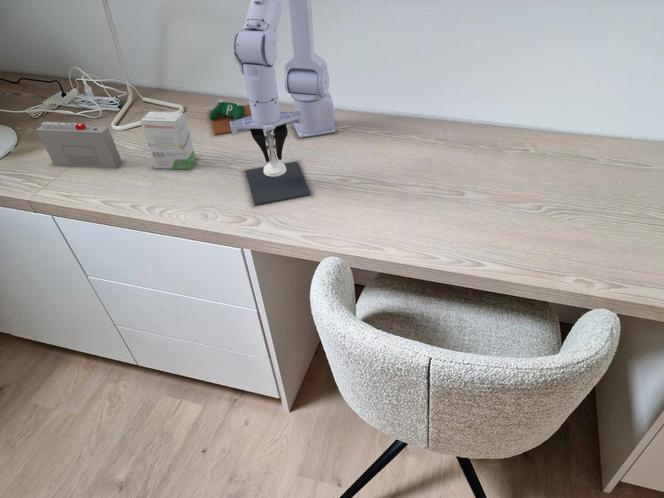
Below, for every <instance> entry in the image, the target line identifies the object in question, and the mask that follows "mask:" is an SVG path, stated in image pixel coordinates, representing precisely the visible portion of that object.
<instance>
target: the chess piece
mask: <svg viewBox="0 0 664 498" xmlns="http://www.w3.org/2000/svg"><path fill="white" fill-rule="evenodd" d="M272 132H273V130H266V131H265V139H266V147H267V151H269V161H270V162H267V164H265V165H264V166H263V167H264V174H265V175H267V176H271V177H275V176H280V175H282V174H284V173H285V172H286V166H285V165H284V164H285V163H283V162H280V161H279V160H278V157H277V154H276V148H277V147H276V145H275V144H274V143H275V136H274V134H272Z"/></svg>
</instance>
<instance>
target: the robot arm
mask: <svg viewBox="0 0 664 498" xmlns="http://www.w3.org/2000/svg"><path fill="white" fill-rule="evenodd" d="M282 7H283V6H282V4H281V3H280V0H250V1H249V5H248V9H247V13H246V17H245V21H244V23H243V28H242V29H241V30H240V31H239V32H237V33H236V34H235V35H234V38H233V56H234V59H235V61H236V63H237V64H238V66H239V72H240V73H241V75H243V77H244V82H245V87H246V88H245V89H246V93H247V94H246V95H247V99H248V103H249V104H248V105H250V110H251V116H248V117H245V118H242V119H239V120H235V121H230V126H231V131H232V133H231V134H232V135H238V134H239V133H243V132H249V131H250V134H251V137H252V139H253V140H254V141H255V143H256V144H257V146H258V147H259V148H260V150H261V152H262V154H263V156H264V160H265V163H270V155H269V151H268V150H267V141H266V139H265V136H266V134H265V132H264V130H265V131H267V130H272V132H273V135H274V136H275V139H274V143H275V144H274V145H276V147H277V148H276V149H275V155H276V158H277V161H282V158H283V149H284V144H285V141H286V139H287V137H288V134H289V130H288V127H287V126H288V125H293V127H294V129H295V131H296V134H297V136H298V138H299V139H303V138H309V137H315V136H320V135H327V134H333V133H336V131H337V130H336V127H335V109H334V102H333V98H332V94H331V93H330V91H329V89H330V88H329V87H330V74H329V72H328V65H327V62H326V60H325V59H323V58H322V57H321V56H320V55H318V54H317V53H316V52H315V42H314V41H315V40H314V24H313V8H312V0H288V7H289V18H290V31H291V41H292V42H291V43H292V51H293V53H292V55H291V56H290V57H289V58H288V59H286V61H285V63H284V74H283V85H284V89H285V90H286V92H287V93H288V94H290V98H291V99H293V104H294V111H293V110H292V111H291V110H286V111H285V110H283V111H282V110H281V106H280V100H279V94H278V93H279V92H278V86H277V79H276V78H277V77H276V73H275V65H274V64H275V62H276V60H277V56H278V35H277V31H278V26H279V22H280V18H281V16H282V15H281V14H282V10H283V9H282Z"/></svg>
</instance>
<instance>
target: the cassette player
mask: <svg viewBox="0 0 664 498" xmlns="http://www.w3.org/2000/svg"><path fill="white" fill-rule="evenodd" d="M35 131H36V132H37V135H38V136H39V138H40V141H41V142H42V144H43V146H44V148H45V150H46V152H47V154H48V155H49V158H50V160H51V162H52V164H53V166H65V167H66V166H68V167H70V166H71V167H87V168H102V169H103V168H106V169H118V168H119V166H120V165H121V164H122V163H123V161H122V158H121V156H120V153H119V151H118V148H117V146H116V143H115V141H114V139H113V135H112V134H111V131H110V128H109V127H108V126H95V125H86V124H85V123H83V122H82V123H79V122H59V121H58V122H57V121H43V122H42V123H41V124H40V126H39V127H37V129H36V130H35Z"/></svg>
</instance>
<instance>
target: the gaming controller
mask: <svg viewBox="0 0 664 498" xmlns="http://www.w3.org/2000/svg"><path fill="white" fill-rule="evenodd" d="M244 106H245V105H244V104H243V103H241V102H239V101H238V102H237V103H235V102H229V101H228V102H227V101H226V100H224V99H222V98H220V99H219V102H218V103H217V105H215V107H214V108H212V109H211V110H210V111H211V112H209V120H210V121H212V120H216V119H217V118H219V117H220V116H222V115H223V116H225V117H233V118H234V121H235V120H239V119H242V118H243V117H244V114H245V107H244Z"/></svg>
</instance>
